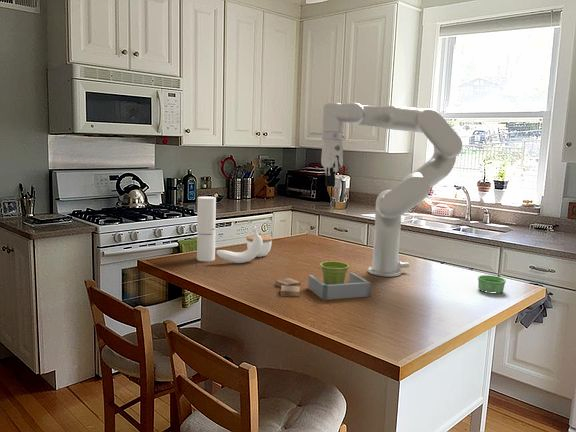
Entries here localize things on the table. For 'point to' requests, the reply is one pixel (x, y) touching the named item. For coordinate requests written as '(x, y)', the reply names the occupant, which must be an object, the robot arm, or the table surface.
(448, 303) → the table surface
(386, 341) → the table surface
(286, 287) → the tile
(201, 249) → the cylindrical container
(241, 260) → the white curved piece
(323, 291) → the u-shaped fence
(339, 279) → the plant pot
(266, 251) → the lidded jar
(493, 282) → the ramekin
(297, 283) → the tile
